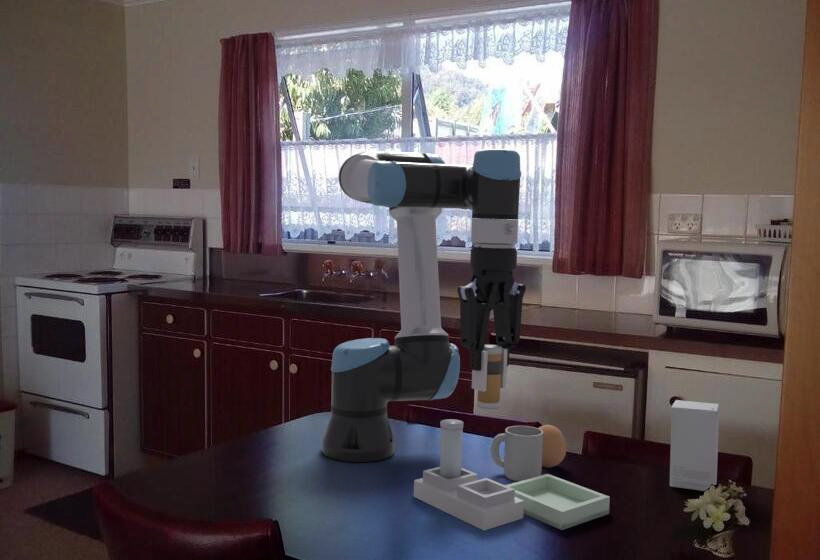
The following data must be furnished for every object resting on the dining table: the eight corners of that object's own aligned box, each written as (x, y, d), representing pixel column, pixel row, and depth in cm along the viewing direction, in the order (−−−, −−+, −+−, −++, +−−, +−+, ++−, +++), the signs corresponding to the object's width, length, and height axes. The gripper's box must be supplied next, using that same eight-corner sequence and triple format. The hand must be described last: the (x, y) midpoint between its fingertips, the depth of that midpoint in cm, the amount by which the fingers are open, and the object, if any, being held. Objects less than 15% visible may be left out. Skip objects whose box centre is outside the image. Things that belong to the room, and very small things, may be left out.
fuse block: (413, 496, 138) (415, 420, 136) (452, 486, 143) (454, 413, 142) (483, 530, 124) (486, 445, 122) (523, 518, 129) (526, 436, 128)
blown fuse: (472, 405, 129) (474, 345, 128) (488, 402, 131) (490, 343, 130) (487, 410, 126) (490, 349, 125) (504, 407, 128) (506, 347, 127)
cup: (537, 484, 145) (539, 438, 145) (485, 477, 149) (487, 431, 148) (544, 472, 152) (546, 428, 152) (494, 466, 156) (495, 422, 155)
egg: (561, 475, 151) (563, 432, 151) (524, 469, 154) (526, 427, 153) (568, 464, 158) (570, 422, 157) (533, 458, 161) (534, 418, 160)
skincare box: (717, 483, 148) (721, 403, 147) (714, 494, 142) (719, 411, 141) (671, 476, 152) (675, 398, 151) (666, 486, 146) (671, 405, 145)
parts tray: (500, 503, 135) (500, 486, 135) (546, 489, 143) (547, 473, 143) (561, 530, 125) (562, 512, 124) (609, 513, 132) (609, 496, 132)
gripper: (471, 247, 118) (466, 399, 120) (546, 246, 128) (540, 386, 130) (439, 245, 124) (435, 389, 126) (514, 244, 134) (508, 378, 136)
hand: (488, 387), depth 128 cm, fingers closed on blown fuse, 4 cm apart
